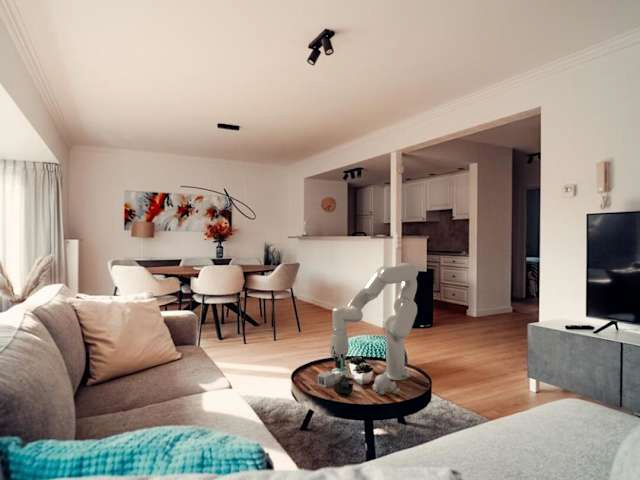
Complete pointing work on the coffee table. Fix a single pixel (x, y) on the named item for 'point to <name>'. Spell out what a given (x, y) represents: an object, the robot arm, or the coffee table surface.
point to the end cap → (343, 386)
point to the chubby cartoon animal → (384, 384)
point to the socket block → (345, 371)
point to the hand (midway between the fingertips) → (340, 366)
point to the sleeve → (326, 379)
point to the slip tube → (339, 370)
